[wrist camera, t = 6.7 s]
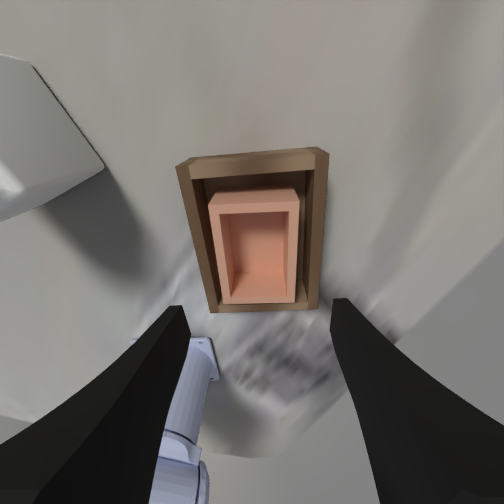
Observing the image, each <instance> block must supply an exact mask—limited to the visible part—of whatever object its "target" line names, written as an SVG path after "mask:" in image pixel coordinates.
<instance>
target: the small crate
mask: <svg viewBox="0 0 504 504" xmlns="http://www.w3.org/2000/svg"><path fill="white" fill-rule="evenodd" d="M299 203H300V201H299V199H298V197H297V194H296V192H295V190H294V188H293V186H292V184H283V185H262V186H242V187H221V188H218V189H217V191H216V192H215V194H214V196H213V198H212V199H211V201H210V203H209V204H208V208H209V215H210V221H211V227H212V234H213V240H214V246H215V253H216V259H217V266H218V272H219V278H220V285H221V291H222V297H223V304H248V303H295V284H296V264H297V244H298V223H299Z"/></svg>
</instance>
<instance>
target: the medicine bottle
mask: <svg viewBox="0 0 504 504" xmlns="http://www.w3.org/2000/svg"><path fill="white" fill-rule="evenodd" d="M103 169H104V164H103V162H102V161H101V159H100V158H99V157H98V155H97V154H96V153H95V151H94V150H93V149H92V147H91V146H90V145H89V143H88V142H87V140H86V139H85V138H84V136H83V135H82V134H81V132H80V131H79V130H78V128H77V127H76V126H75V124H74V123H73V121H72V120H71V119H70V117H69V116H68V115H67V113H66V112H65V111H64V109H63V108H62V107H61V105H60V104H59V103H58V101H57V100H56V98H55V97H54V96H53V94H52V93H51V92H50V90H49V89H48V88H47V86H46V85H45V84H44V82H43V81H42V79H41V78H40V77H39V75H38V74H37V73H36V71H35V70H34V69H33V67H32V66H31V65H30V64H29V63H28V62H27V61H26V60H23V59H21V58H16V57H12V56H8V55H4V54H0V222H1V221H4V220H6V219H9V218H11V217H14V216H16V215H19V214H21V213H23V212H26V211H28V210H31V209H33V208H36V207H38V206H41V205H43V204H45V203H47V202H48V201H50V200H52V199H54V198H55V197H57V196H59V195H61V194H62V193H64V192H66V191H67V190H69V189H71V188H73V187H74V186H76V185H78V184H80V183H81V182H83V181H85V180H87V179H88V178H90V177H92V176H93V175H95V174H97V173H99V172H100V171H102V170H103Z"/></svg>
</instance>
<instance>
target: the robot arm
mask: <svg viewBox="0 0 504 504" xmlns="http://www.w3.org/2000/svg"><path fill="white" fill-rule="evenodd" d="M330 333H331V337H332V342H333V346H334V350H335V353H336V356H337V358H338V361H339V364H340V367H341V369H342V372H343V375H344V378H345V380H346V383H347V386H348V388H349V391H350V394H351V396H352V399H353V402H354V405H355V408H356V411H357V415H358V418H359V422H360V426H361V429H362V433H363V437H364V440H365V444H366V448H367V452H368V456H369V460H370V464H371V468H372V472H373V476H374V480H375V484H376V488H377V492H378V496H379V501H380V504H504V426H503V425H502V424H500V423H499V422H497V421H496V420H494V419H492V418H491V417H489V416H488V415H486V414H484V413H483V412H482V411H480V410H478V409H477V408H475V407H474V406H473V405H471V404H470V403H468V402H467V401H465V400H464V399H462V398H461V397H459V396H458V395H457V394H455V393H454V392H452V391H451V390H449V389H448V388H446V387H445V386H444V385H442V384H441V383H440V382H438V381H437V380H436V379H434V378H433V377H432V376H430V375H429V374H428V373H426V372H425V371H424V370H422V369H421V368H420V367H419V366H418V365H416V364H415V363H414V362H413V361H411V360H410V359H409V358H408V357H407V356H405V355H404V354H403V353H402V352H401V351H400V350H399V349H398V348H396V347H395V346H394V345H393V344H392V343H391V342H390V341H389V340H388V339H387V338H386V337H385V336H384V335H382V334H381V333H380V332H379V331H378V330H377V329H376V328H375V327H374V326H373V325H372V324H371V323H370V322H369V321H368V320H367V319H366V318H365V317H364V316H363V314H362V313H361V312H360V311H359V310H358V309H357V308H356V307H355V306H354V305H353V304H352V303H351V302H350V301H349V300H348V299H347V298H340V299H333V306H332V315H331V323H330ZM219 378H220V375H219V372H218V368H217V364H216V360H215V356H214V352H213V349H212V345H211V341H210V339H209V338H207V337H201V338H191V332H190V329H189V326H188V323H187V320H186V316H185V313H184V310H183V307H182V305H177V306H169V307H168V308H167V309H166V310H165V311H164V312H163V313H162V315H161V316H160V317H159V318H158V319H157V320H156V321H155V322H154V323H153V324H152V325H151V326H150V327H149V328H148V329H147V330H146V331H145V332H144V333H143V335H142V336H141V337H140V338H139V339H137V340H132V341H131V342H130V347H129V348H128V349H127V350H126V351H125V352H124V353H123V354H122V355H121V356H120V357H119V358H118V359H117V360H116V361H115V362H114V363H112V364H111V365H110V366H109V367H108V368H107V369H106V370H104V371H103V372H102V373H101V374H100V375H98V376H97V377H96V378H95V379H94V380H92V381H91V382H90V383H89V384H87V385H86V386H85V387H83V388H82V389H81V390H80V391H78V392H77V393H76V394H74V395H73V396H72V397H70V398H69V399H68V400H66V401H65V402H64V403H62V404H61V405H60V406H58V407H57V408H55V409H54V410H52V411H51V412H50V413H48V414H47V415H45V416H44V417H42V418H41V419H39V420H38V421H36V422H35V423H33V424H32V425H31V426H29V427H27V428H26V429H24V430H23V431H21V432H20V433H18V434H17V435H15V436H14V437H12V438H10V439H9V440H7V441H5V442H4V443H2V444H0V504H208V501H209V475H208V472H207V468H206V465H205V463H204V462H203V461H200V455H201V449H202V448H201V447H198V446H196V445H197V440H198V435H199V430H200V424H201V419H202V414H203V409H204V404H205V399H206V394H207V389H208V383H209V381H218V380H219Z"/></svg>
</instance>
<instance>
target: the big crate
mask: <svg viewBox="0 0 504 504" xmlns="http://www.w3.org/2000/svg"><path fill="white" fill-rule="evenodd" d="M328 166H329V153H327V152H325V151H324V150H322V149H320V148H318V147H309V148H297V149H286V150H274V151H263V152H251V153H240V154H228V155H217V156H205V157H194V158H189V159H188V160H186V161H184V162H182V163H181V164H179V165H177V166H176V167H175V168H176V172H177V176H178V180H179V184H180V189H181V193H182V197H183V201H184V205H185V209H186V214H187V218H188V222H189V226H190V230H191V234H192V239H193V243H194V247H195V251H196V255H197V259H198V264H199V268H200V272H201V276H202V280H203V285H204V289H205V293H206V297H207V301H208V305H209V310H210V313H229V312H255V311H281V310H307V309H317V307H318V294H319V282H320V269H321V256H322V243H323V230H324V217H325V205H326V192H327V179H328ZM283 184H292V186H293V188H294V190H295V192H296V194H297V197H298V199H299V201H300V203H299V223H298V244H297V264H296V284H295V303H248V304H223V297H222V291H221V285H220V278H219V272H218V266H217V259H216V253H215V246H214V240H213V234H212V227H211V221H210V215H209V208H208V204H209V203H210V201H211V199H212V198H213V196H214V194H215V192H216V191H217V189H218V188H221V187H242V186H262V185H283Z"/></svg>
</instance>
